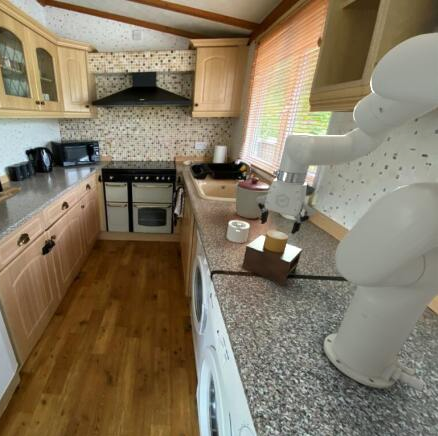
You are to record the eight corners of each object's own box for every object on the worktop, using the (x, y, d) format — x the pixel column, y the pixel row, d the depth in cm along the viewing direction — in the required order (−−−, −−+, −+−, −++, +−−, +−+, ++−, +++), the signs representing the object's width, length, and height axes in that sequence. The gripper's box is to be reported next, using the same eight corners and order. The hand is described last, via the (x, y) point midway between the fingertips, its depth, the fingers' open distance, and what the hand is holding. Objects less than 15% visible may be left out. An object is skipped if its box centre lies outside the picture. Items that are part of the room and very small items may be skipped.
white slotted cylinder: (246, 244, 103) (249, 230, 100) (225, 240, 106) (227, 226, 103) (248, 226, 120) (250, 213, 117) (230, 223, 123) (231, 211, 120)
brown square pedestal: (295, 271, 85) (302, 249, 82) (283, 286, 78) (289, 262, 74) (256, 255, 95) (261, 235, 91) (242, 267, 87) (246, 245, 84)
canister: (224, 212, 137) (229, 175, 129) (247, 207, 145) (254, 172, 136) (248, 224, 122) (256, 183, 114) (273, 218, 129) (282, 179, 121)
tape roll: (287, 247, 83) (291, 235, 81) (280, 254, 78) (283, 241, 77) (268, 240, 87) (271, 228, 85) (260, 246, 83) (263, 234, 81)
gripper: (257, 173, 77) (247, 222, 84) (320, 185, 65) (303, 240, 72) (267, 170, 81) (257, 216, 88) (328, 180, 70) (311, 233, 77)
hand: (278, 227), depth 80 cm, fingers open, 9 cm apart
